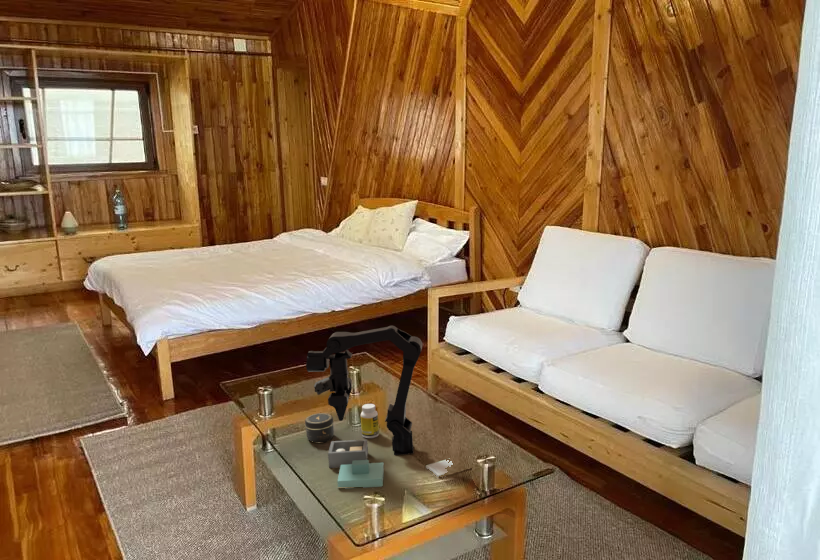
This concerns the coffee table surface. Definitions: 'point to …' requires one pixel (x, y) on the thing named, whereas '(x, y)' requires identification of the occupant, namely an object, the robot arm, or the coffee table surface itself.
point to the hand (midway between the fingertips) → (342, 415)
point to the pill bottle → (369, 421)
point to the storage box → (347, 452)
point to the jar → (319, 427)
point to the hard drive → (439, 467)
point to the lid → (361, 474)
